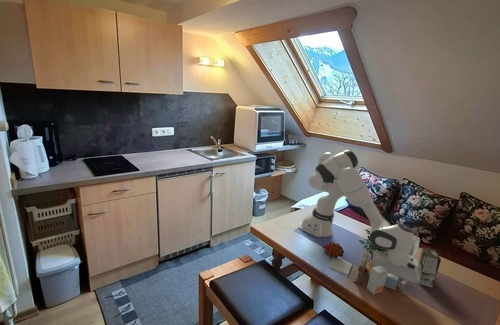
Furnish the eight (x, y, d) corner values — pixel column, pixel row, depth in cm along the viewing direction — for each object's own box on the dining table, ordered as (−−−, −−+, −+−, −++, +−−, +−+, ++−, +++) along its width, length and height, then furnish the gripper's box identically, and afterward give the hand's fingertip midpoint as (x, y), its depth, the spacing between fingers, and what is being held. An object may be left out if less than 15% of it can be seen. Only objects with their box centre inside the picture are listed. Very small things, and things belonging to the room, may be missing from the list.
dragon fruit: (344, 263, 144) (322, 259, 151) (347, 251, 150) (326, 248, 157) (340, 252, 140) (319, 249, 148) (344, 240, 146) (323, 238, 153)
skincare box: (373, 295, 123) (378, 273, 120) (366, 288, 127) (371, 267, 124) (382, 292, 126) (388, 270, 122) (375, 285, 129) (380, 264, 126)
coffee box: (432, 288, 131) (441, 260, 127) (418, 284, 133) (426, 256, 129) (428, 276, 139) (436, 249, 135) (414, 273, 141) (421, 246, 137)
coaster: (328, 267, 140) (328, 266, 140) (333, 258, 148) (333, 257, 148) (347, 275, 135) (348, 274, 135) (352, 265, 143) (352, 264, 143)
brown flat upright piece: (362, 286, 128) (366, 267, 125) (353, 282, 130) (357, 263, 127) (367, 269, 141) (372, 251, 138) (359, 265, 143) (363, 248, 140)
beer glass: (415, 265, 148) (422, 241, 144) (402, 263, 149) (408, 239, 145) (411, 258, 154) (417, 235, 150) (398, 255, 156) (404, 233, 151)
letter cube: (384, 285, 130) (386, 277, 128) (385, 280, 134) (387, 271, 133) (395, 290, 127) (398, 281, 126) (396, 284, 132) (398, 275, 130)
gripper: (372, 251, 129) (367, 275, 132) (422, 269, 118) (414, 294, 122) (374, 245, 134) (369, 269, 138) (422, 262, 124) (414, 286, 127)
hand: (390, 281), depth 130 cm, fingers open, 8 cm apart
